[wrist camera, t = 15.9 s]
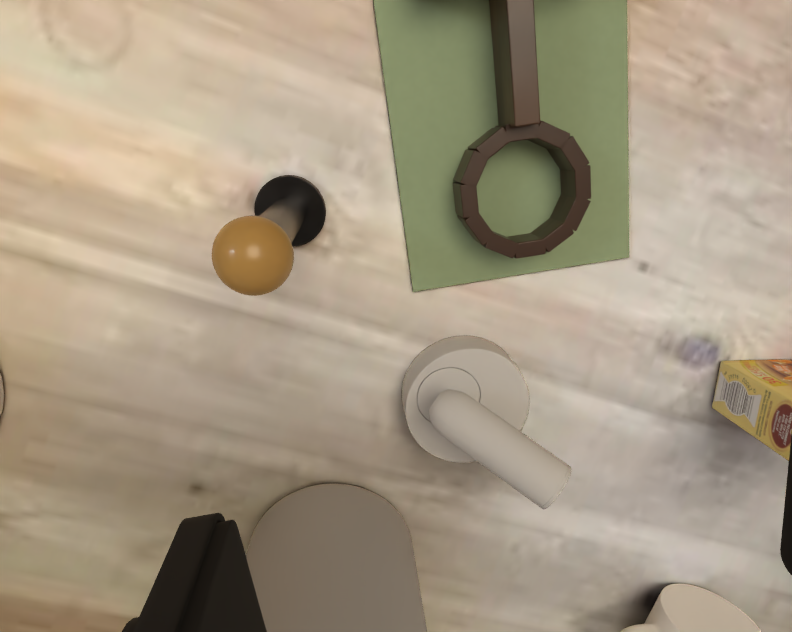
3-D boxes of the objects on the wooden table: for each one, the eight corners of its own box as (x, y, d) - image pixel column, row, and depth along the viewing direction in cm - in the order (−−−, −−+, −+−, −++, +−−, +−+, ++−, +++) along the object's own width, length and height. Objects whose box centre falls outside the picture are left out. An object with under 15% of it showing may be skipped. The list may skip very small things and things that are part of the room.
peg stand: (264, 249, 35) (199, 332, 20) (248, 180, 34) (167, 211, 19) (331, 239, 36) (319, 313, 20) (319, 170, 34) (296, 192, 19)
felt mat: (412, 290, 37) (413, 292, 37) (363, -68, 31) (363, -70, 30) (627, 256, 38) (629, 257, 37) (623, -103, 31) (626, -105, 31)
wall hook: (530, 559, 33) (389, 492, 30) (490, 469, 42) (379, 412, 40) (618, 449, 31) (475, 368, 29) (556, 379, 40) (443, 314, 38)
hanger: (591, 237, 37) (616, 247, 33) (445, 260, 36) (455, 272, 33) (583, -63, 31) (611, -88, 28) (411, -40, 31) (418, -62, 28)
